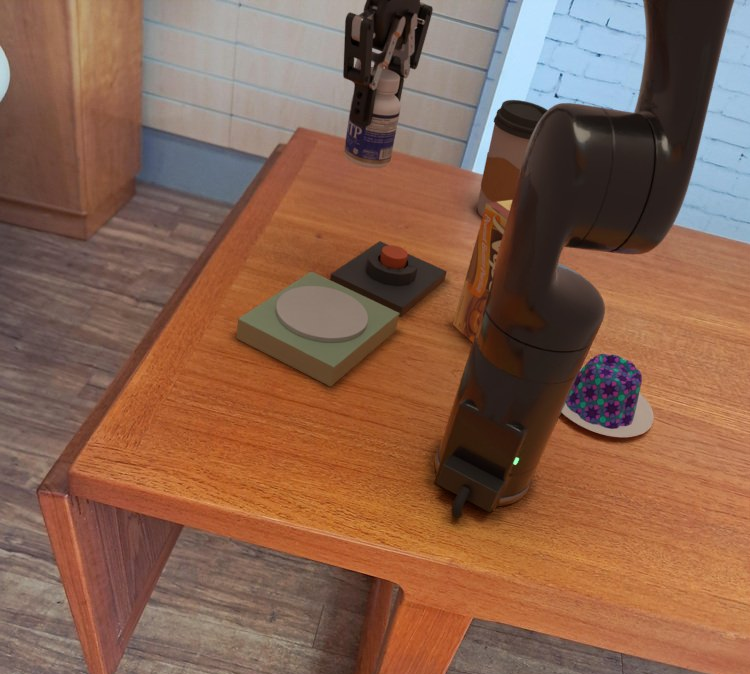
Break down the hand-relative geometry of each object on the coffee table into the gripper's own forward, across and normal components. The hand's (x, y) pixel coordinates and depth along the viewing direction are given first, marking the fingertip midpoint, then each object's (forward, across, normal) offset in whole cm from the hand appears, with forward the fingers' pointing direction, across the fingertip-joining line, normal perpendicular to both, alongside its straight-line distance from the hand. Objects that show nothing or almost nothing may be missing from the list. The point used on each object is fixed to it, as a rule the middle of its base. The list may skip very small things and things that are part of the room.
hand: (374, 117), depth 84 cm
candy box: (+19, 0, -19) cm, 27 cm away
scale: (+19, -13, -4) cm, 24 cm away
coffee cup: (+19, +33, -6) cm, 38 cm away
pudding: (+19, -2, -34) cm, 40 cm away
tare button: (+16, +3, -4) cm, 17 cm away
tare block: (+19, +3, -4) cm, 19 cm away
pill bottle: (+5, 0, 0) cm, 5 cm away
